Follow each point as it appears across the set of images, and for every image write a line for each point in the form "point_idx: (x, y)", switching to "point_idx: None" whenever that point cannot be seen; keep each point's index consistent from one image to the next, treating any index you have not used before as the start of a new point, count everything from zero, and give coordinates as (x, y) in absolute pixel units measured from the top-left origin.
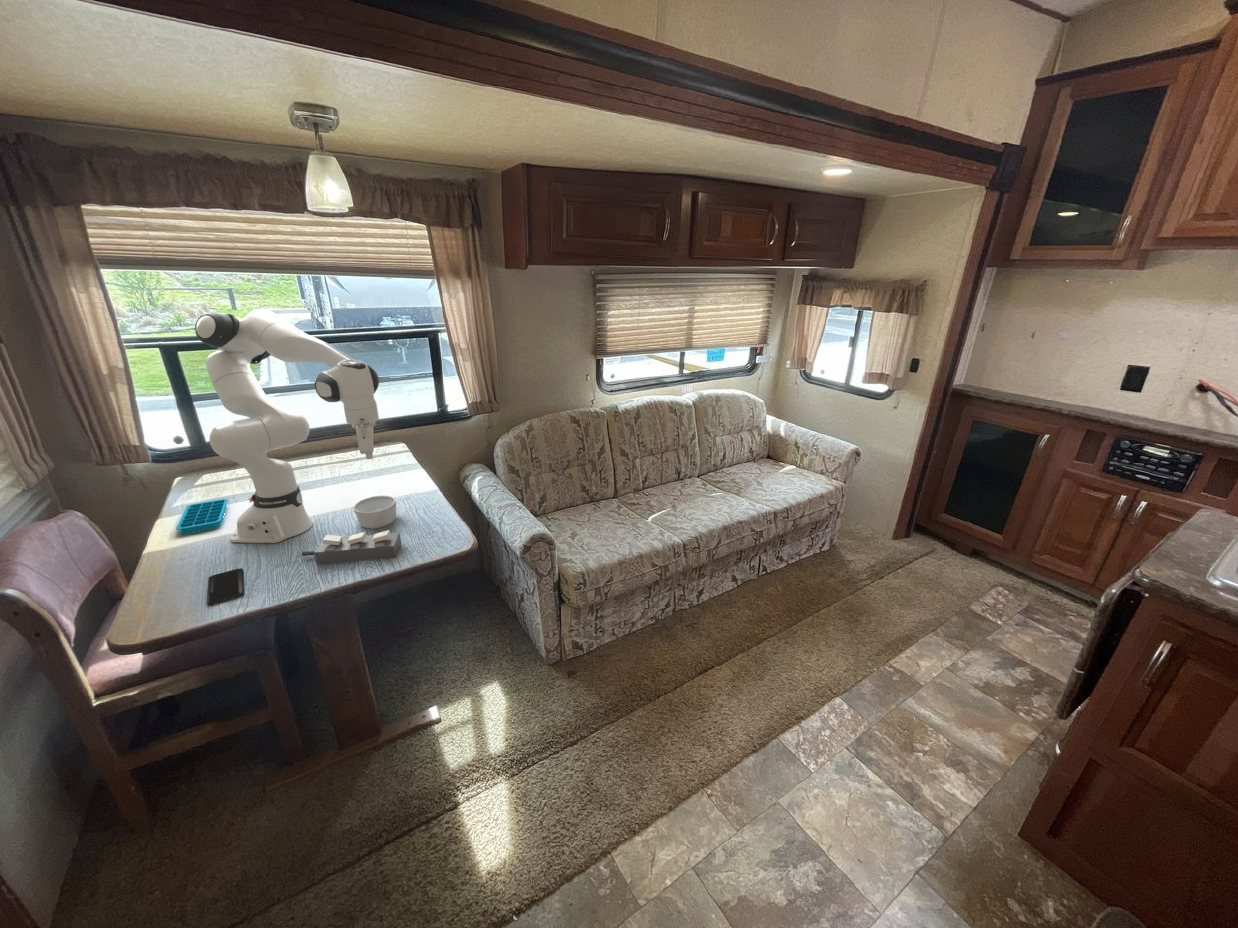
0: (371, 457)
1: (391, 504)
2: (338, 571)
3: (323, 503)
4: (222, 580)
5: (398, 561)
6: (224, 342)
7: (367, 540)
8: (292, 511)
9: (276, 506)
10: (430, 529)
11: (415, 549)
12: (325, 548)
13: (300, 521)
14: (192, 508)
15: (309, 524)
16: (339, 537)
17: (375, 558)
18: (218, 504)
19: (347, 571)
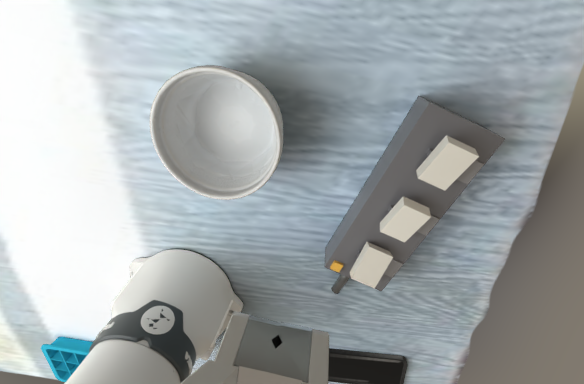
0: (326, 348)
1: (197, 78)
2: (442, 245)
3: (81, 215)
4: (339, 370)
5: (514, 126)
6: None
7: (408, 191)
8: (195, 316)
9: (195, 359)
10: None
11: (487, 64)
12: None
13: (204, 285)
14: None
15: (197, 259)
16: (373, 253)
17: None
18: (63, 354)
19: (458, 232)
